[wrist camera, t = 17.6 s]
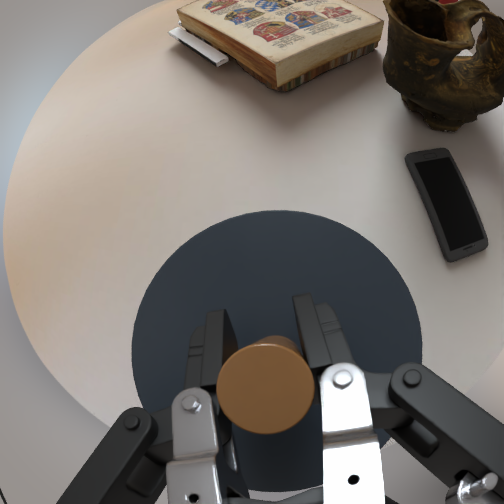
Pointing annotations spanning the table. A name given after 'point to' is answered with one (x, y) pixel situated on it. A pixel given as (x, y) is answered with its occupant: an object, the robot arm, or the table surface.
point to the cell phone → (447, 203)
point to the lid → (272, 330)
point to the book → (279, 36)
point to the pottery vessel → (445, 60)
